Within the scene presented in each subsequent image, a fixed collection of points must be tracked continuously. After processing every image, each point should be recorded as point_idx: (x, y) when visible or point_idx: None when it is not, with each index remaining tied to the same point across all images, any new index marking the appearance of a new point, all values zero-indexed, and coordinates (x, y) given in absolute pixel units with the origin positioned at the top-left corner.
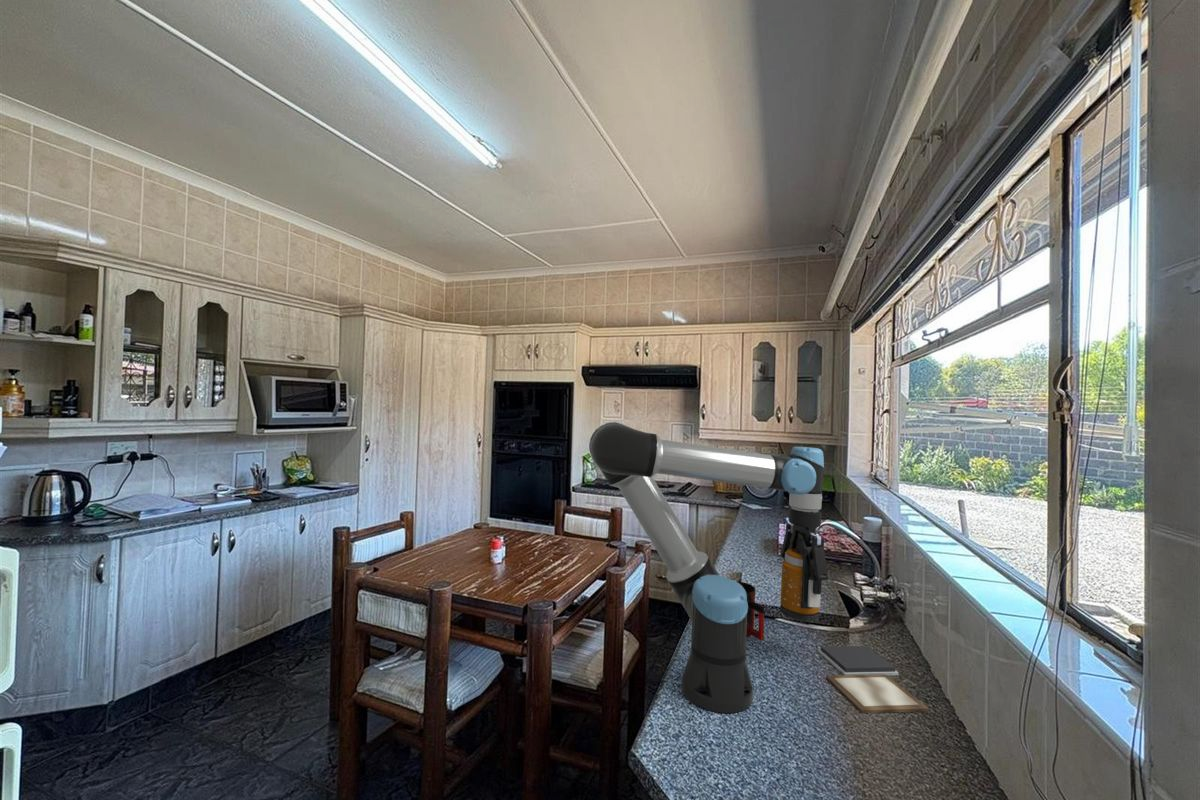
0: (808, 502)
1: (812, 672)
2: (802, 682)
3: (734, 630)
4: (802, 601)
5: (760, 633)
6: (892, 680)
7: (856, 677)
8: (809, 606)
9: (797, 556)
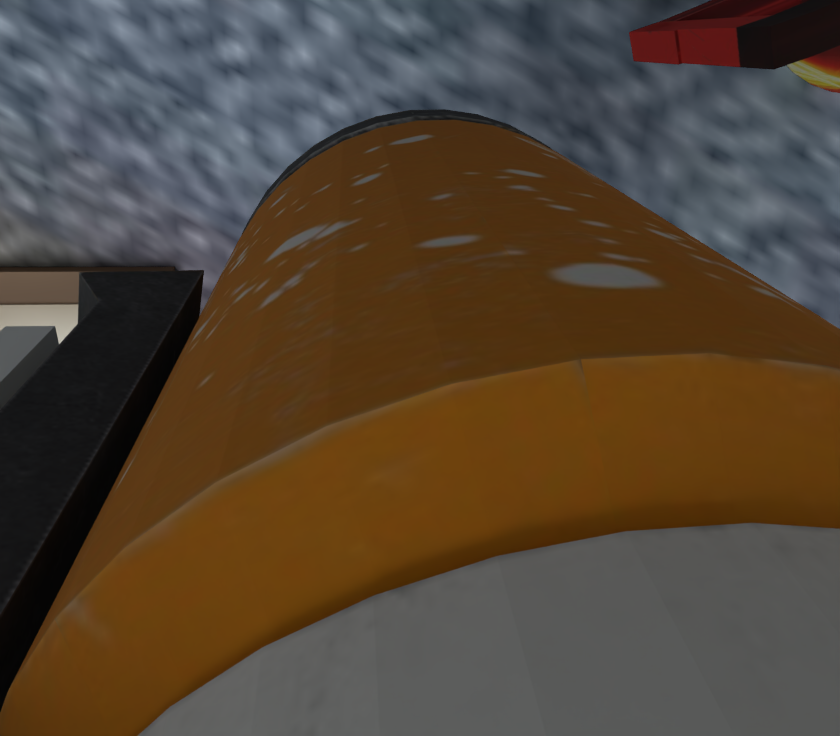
0: None
1: (241, 219)
2: (109, 81)
3: None
4: (113, 297)
5: (656, 29)
6: None
7: None
8: (6, 333)
9: None
